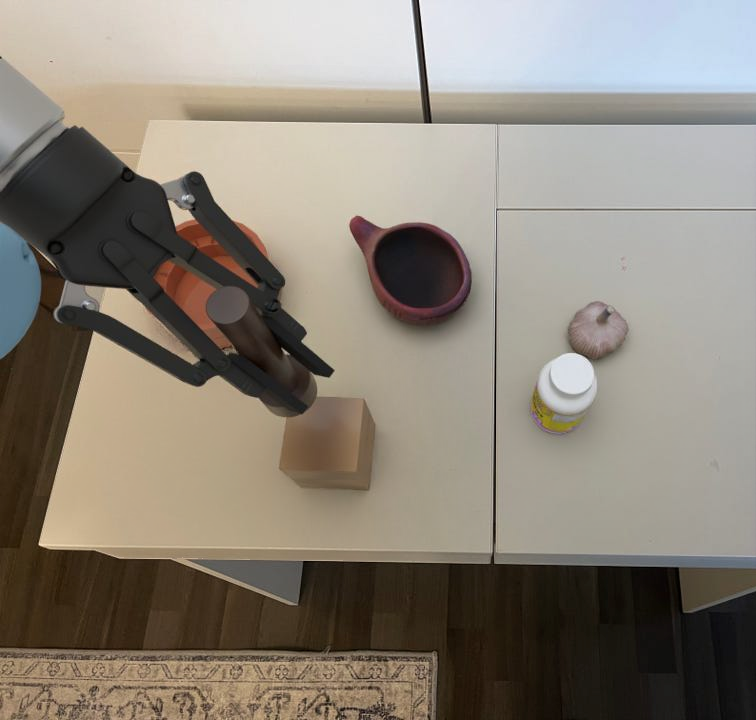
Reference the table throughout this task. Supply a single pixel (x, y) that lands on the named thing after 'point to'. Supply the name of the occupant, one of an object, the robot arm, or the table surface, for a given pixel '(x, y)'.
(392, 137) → the table surface
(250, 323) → the cylinder
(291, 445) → the cube
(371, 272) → the bowl
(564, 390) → the supplement bottle
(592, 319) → the garlic bulb
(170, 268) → the mixing bowl
